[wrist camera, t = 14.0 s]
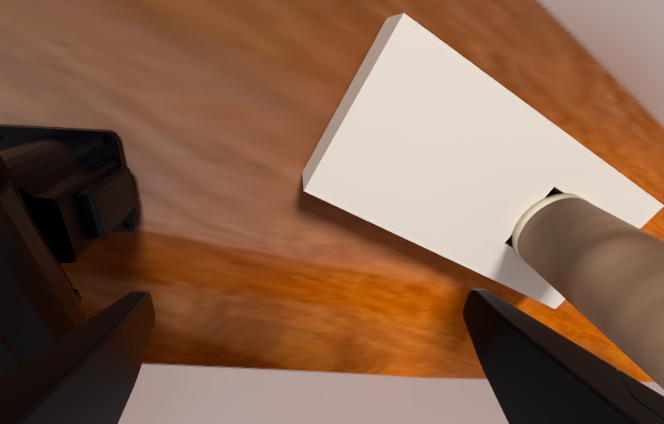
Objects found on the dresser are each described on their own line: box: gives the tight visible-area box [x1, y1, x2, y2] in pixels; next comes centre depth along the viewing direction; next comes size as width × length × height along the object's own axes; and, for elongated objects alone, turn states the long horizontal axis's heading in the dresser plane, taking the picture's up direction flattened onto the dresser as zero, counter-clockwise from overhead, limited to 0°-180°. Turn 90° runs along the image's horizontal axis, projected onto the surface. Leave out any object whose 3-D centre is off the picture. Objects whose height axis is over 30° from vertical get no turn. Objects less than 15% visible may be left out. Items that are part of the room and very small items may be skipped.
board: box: [302, 13, 664, 309], centre depth 21 cm, size 22×10×3 cm, turn 60°
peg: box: [512, 193, 664, 389], centre depth 18 cm, size 5×5×13 cm
